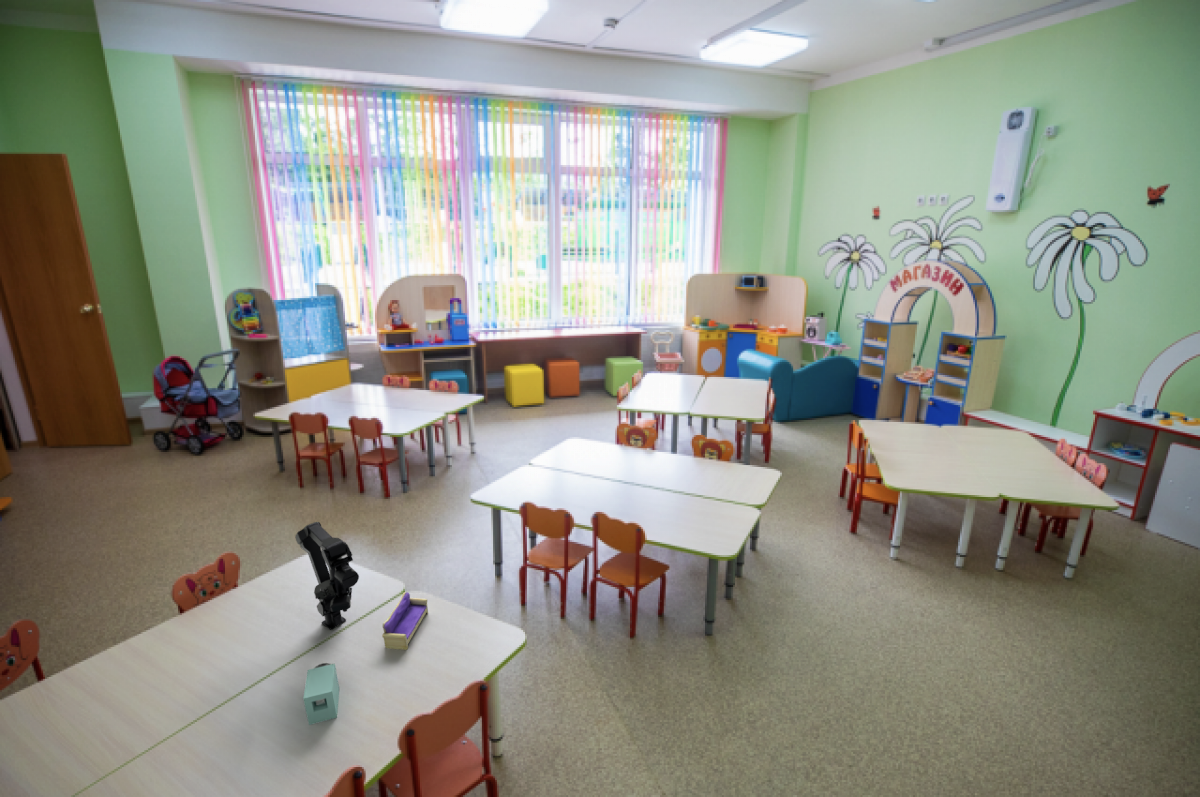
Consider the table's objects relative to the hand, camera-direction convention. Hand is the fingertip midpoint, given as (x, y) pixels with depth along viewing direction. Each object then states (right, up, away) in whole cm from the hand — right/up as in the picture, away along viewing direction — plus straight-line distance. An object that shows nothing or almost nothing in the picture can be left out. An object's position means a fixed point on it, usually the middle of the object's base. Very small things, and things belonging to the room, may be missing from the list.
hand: (345, 611), depth 207 cm
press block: (+4, -22, -24) cm, 32 cm away
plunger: (+3, -18, -23) cm, 30 cm away
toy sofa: (+19, -11, +9) cm, 24 cm away
